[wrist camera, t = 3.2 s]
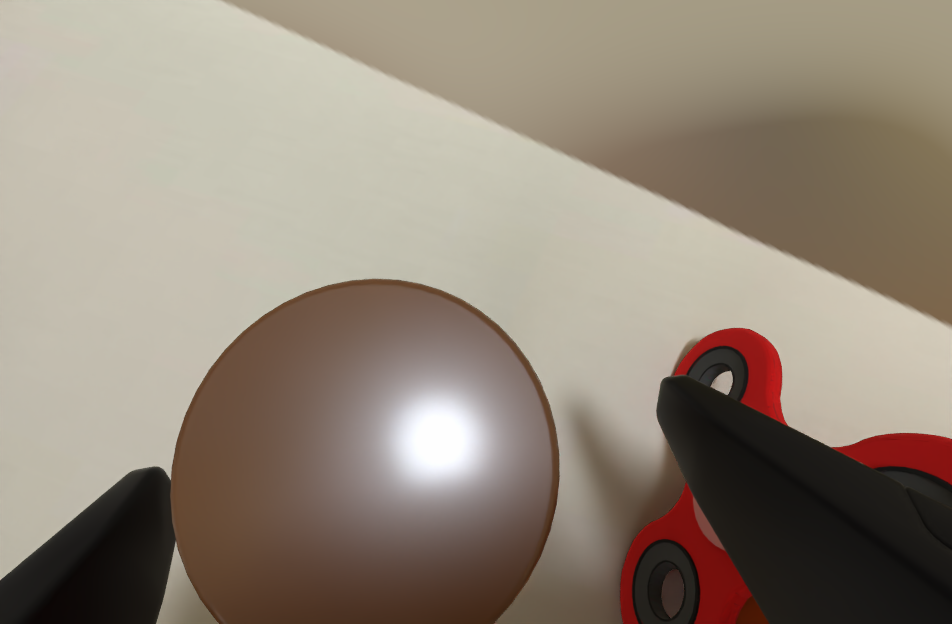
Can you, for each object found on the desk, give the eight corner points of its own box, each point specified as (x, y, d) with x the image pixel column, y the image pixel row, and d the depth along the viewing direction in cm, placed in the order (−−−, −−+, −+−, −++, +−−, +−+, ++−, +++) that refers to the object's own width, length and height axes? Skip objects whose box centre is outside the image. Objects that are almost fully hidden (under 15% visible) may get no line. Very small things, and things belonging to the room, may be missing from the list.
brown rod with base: (479, 478, 16) (663, 760, 2) (391, 481, 16) (33, 812, 2) (476, 390, 17) (602, 215, 3) (392, 392, 16) (131, 217, 3)
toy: (696, 341, 18) (674, 331, 17) (1097, 285, 8) (1061, 261, 8) (621, 635, 15) (595, 627, 15) (1089, 1046, 6) (1033, 1038, 5)
